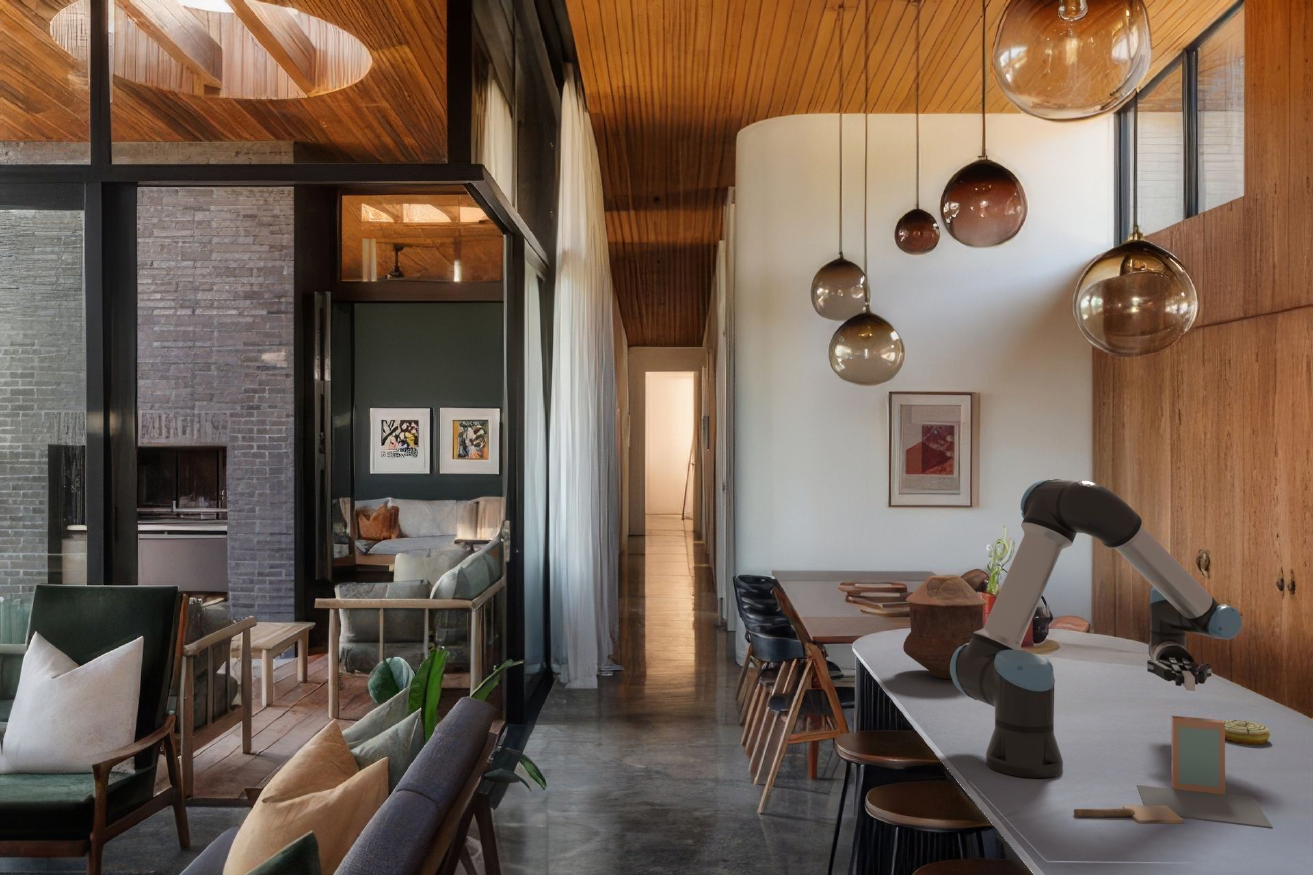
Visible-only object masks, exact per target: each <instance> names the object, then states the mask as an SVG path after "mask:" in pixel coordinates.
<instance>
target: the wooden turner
mask: <svg viewBox="0 0 1313 875" xmlns="http://www.w3.org/2000/svg"><path fill="white" fill-rule="evenodd" d="M1073 815H1074V816H1075V817H1076V818H1121V817H1122V818H1123V817H1124V818H1129V817H1130V818H1132V819H1133V820H1134V821H1135V822H1137V823H1139V824H1140V823H1141V824H1142V823H1143V824H1184V818H1182V817H1179V816H1178V815H1177V814H1176V813H1175V812H1173V811H1172V810H1171V809H1170V808H1169V807H1167V806H1144V805H1122V808H1074V809H1073Z"/></svg>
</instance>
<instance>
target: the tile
mask: <svg viewBox="0 0 1313 875" xmlns="http://www.w3.org/2000/svg"><path fill="white" fill-rule="evenodd" d="M1170 718H1171V719H1170V721H1171V726H1170V727H1171V737H1170V738H1171V739H1170V740H1171V749H1170V750H1171V751H1170V752H1171V758H1170V759H1171V762H1170V763H1171V788H1172V789H1178V790H1187V791H1196V792H1205V793H1214V794H1223V795H1226V739H1225V722H1224V720H1223V719H1214V718H1201V717H1192V716H1191V717H1190V716H1182V715H1181V716H1179V715H1171V717H1170Z"/></svg>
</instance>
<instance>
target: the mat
mask: <svg viewBox="0 0 1313 875" xmlns="http://www.w3.org/2000/svg"><path fill="white" fill-rule="evenodd" d="M1136 787H1137V790H1138V793H1139V795H1140V799H1141V800H1142V804H1143V806H1167V807H1169V808H1170V809H1171V810H1172V811H1173V812H1175V813H1176V814H1177V815H1178V816H1179V817H1181V818H1182V819H1184V818H1185V819H1193V820H1200V821H1208V822H1216V823H1225V824H1232V825H1233V824H1234V825H1241V826H1242V825H1243V826H1250V827H1256V828H1257V827H1260V828H1267V829H1274V826H1273V825H1272V824H1271V822H1270V820H1269V819H1268V818H1267V817H1266V815H1265V814H1264V812H1263V810H1262V809H1261V807H1260V805H1258V803H1257V802H1256V800H1255V799H1254V797H1248V796H1240V795H1230V794H1225V795H1223V794H1215V793H1206V792H1197V791H1188V790H1179V789H1173V788H1168V787H1161V786H1160V787H1159V786H1149V785H1141V784H1136Z"/></svg>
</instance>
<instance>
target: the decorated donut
mask: <svg viewBox="0 0 1313 875" xmlns="http://www.w3.org/2000/svg"><path fill="white" fill-rule="evenodd" d="M1223 721H1224V722H1225V740H1227V741H1230V740H1231V741H1232V742H1233V743H1239V742H1240V744H1245V743H1246V745H1263V744H1265V743H1266V742H1267V741H1268V740H1269V739H1270V736H1271V734H1270V729H1269V728H1268V727H1267V726H1265V725H1263V724H1261V723H1258V722H1257V723H1256V722H1253V721H1248V720H1239V719H1233V720H1232V719H1231V720H1230V719H1228V720H1227V719H1226V720H1223ZM1231 741H1230V742H1231ZM1262 743H1263V744H1262Z"/></svg>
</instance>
